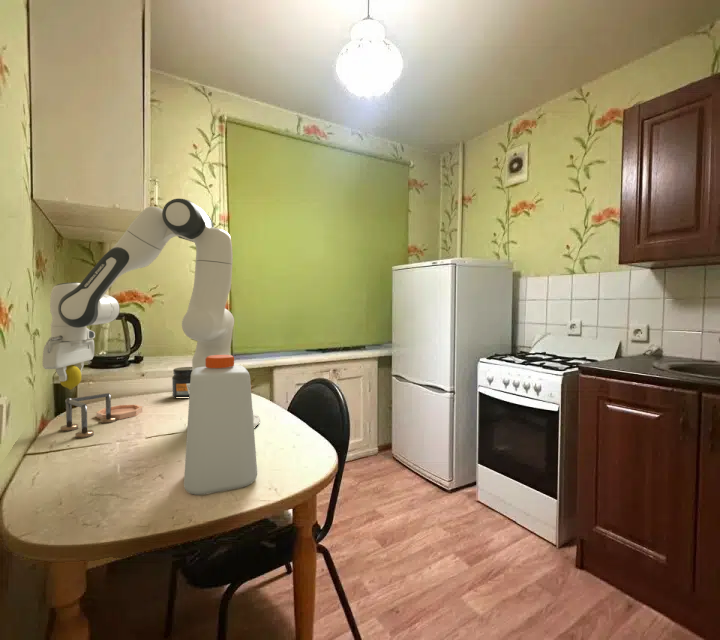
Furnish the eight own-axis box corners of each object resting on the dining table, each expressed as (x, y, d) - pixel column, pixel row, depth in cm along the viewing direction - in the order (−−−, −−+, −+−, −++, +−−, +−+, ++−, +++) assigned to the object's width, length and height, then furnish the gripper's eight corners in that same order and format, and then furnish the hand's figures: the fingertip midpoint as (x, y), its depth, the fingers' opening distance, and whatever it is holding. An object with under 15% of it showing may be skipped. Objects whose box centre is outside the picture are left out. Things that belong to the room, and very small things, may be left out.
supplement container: (195, 399, 156) (194, 370, 156) (168, 399, 155) (168, 370, 154) (202, 393, 166) (202, 366, 166) (177, 393, 165) (176, 366, 165)
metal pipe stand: (118, 419, 128) (118, 390, 128) (88, 437, 110) (87, 404, 110) (79, 420, 126) (78, 391, 126) (41, 440, 108) (40, 406, 108)
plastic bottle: (185, 470, 89) (183, 353, 88) (250, 460, 95) (250, 350, 94) (183, 501, 75) (181, 362, 74) (260, 486, 81) (259, 359, 80)
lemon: (55, 390, 116) (55, 364, 116) (76, 387, 121) (75, 362, 121) (65, 392, 114) (64, 366, 113) (85, 389, 118) (84, 363, 118)
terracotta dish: (146, 408, 141) (146, 404, 141) (131, 419, 128) (131, 413, 128) (109, 410, 139) (109, 405, 139) (90, 420, 126) (90, 415, 126)
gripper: (59, 337, 107) (60, 385, 107) (97, 332, 127) (99, 372, 128) (34, 337, 106) (36, 386, 106) (77, 332, 126) (78, 373, 127)
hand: (70, 378), depth 117 cm, fingers closed on lemon, 5 cm apart
